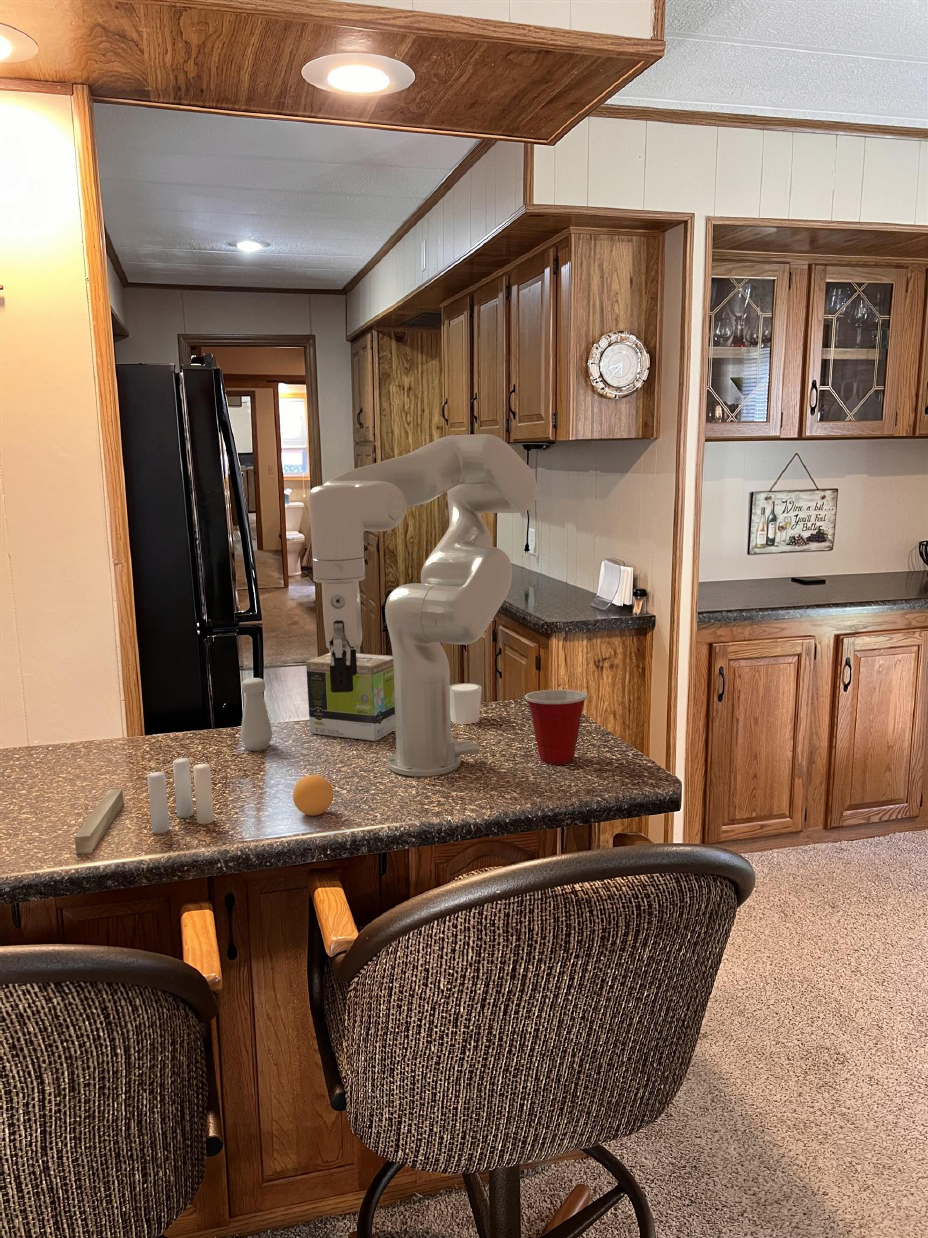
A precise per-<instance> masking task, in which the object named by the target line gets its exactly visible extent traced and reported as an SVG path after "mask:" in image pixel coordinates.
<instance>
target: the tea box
mask: <svg viewBox="0 0 928 1238" xmlns="http://www.w3.org/2000/svg"><path fill="white" fill-rule="evenodd" d="M356 661H357V674H356V675H353V691H352V692H336V693H333V692H331V682H330V665H331V652H329V653H326V654H324V655H320V656H318V657H315V658H312V659H309V660H307V661H305V665H306V666H305V667H306V669H305V670H306V685H307V701H308V702H307V703H308V716H309V717H308V718H309V732H310V734H313V735H314V734H315V735H323V736H329V737H338V738H347V739H348V738H349V739H355V740H357V739H358V740H365V741H371V742H376V741H379V740H381V739H383V738H384V736H385V737H387V736H388V735H389V734H388V733H390V732H392V731H393V732H395V731H396V730H395V729H396V726H395V699H394V668H393V655H383V654H372V653H371V654H370V653H357V652H356ZM394 730H395V731H394ZM393 732H392V733H393ZM387 734H388V735H387ZM390 734H391V733H390ZM382 737H383V738H382Z"/></svg>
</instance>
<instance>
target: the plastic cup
mask: <svg viewBox="0 0 928 1238" xmlns="http://www.w3.org/2000/svg"><path fill="white" fill-rule="evenodd" d="M588 695H589V694H587V692H585V691H582V690H575V689H574V690H573V689H545V690H536V691H532V692H529V693H526V694H525V695H524V699H525V700H526V702H527V705H528V708H529V711H530V715H531V720H532V725H533V731H534V736H535V737H534V738H535V741H536V744H537V750H538V756H539V758H540V759H541V760H540V759H539V760H540V761H541V762H542V761H543V762H542V763H544V762H545V763H544V764H546V763H548V765H550V764H564V765H568V764H570V763H572V762H573V761H572V760H574V757H575V754H576V746H577V743H578V737H579V731H580V725H581V720H582V713H583V711H584V710H583V708H584V705H585V702H586V699H587V698H588ZM571 761H572V762H571ZM569 762H570V763H569ZM567 763H568V764H567Z"/></svg>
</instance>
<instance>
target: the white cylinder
mask: <svg viewBox="0 0 928 1238" xmlns="http://www.w3.org/2000/svg"><path fill="white" fill-rule="evenodd" d="M482 690H483V689H482V686H481V685H480V684H476V683H471V682H470V683H466V682H465V683H464V682H463V683H462V682H461V683H455V684H450V715H451V721H452V722H454V723H453V724H455V723H458V724H457V725H459V724H470V725H472V724H471V723H475V724H477V723H479V722H480V714H481V713H480V712H481V702H482V701H481V700H482ZM478 721H479V722H478ZM476 722H477V723H476Z"/></svg>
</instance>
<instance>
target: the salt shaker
mask: <svg viewBox="0 0 928 1238" xmlns="http://www.w3.org/2000/svg"><path fill="white" fill-rule="evenodd" d="M265 691H266V682H265V680H264V679H263V678H260V677H250V678H247V679H244V680H243V681H242V682H241V692H242V693H243V694H244V703H243V711H242V718H241V728H240V729H241V730H240V740H241V741H242V743H243V745H244V747H245V748H246V750H248V751H251V752H252V751H253V752H254V751H255V752H256V751H257V752H258V751H259V752H260V751H263V750H266V749H268V747H270V746H269V745H270V743H271V741H272V739H273V731H272V726H271V723H270V717H269V714H268V713H269V712H268V710H267V705H266V701H265V697H264V693H263V692H265Z"/></svg>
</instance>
